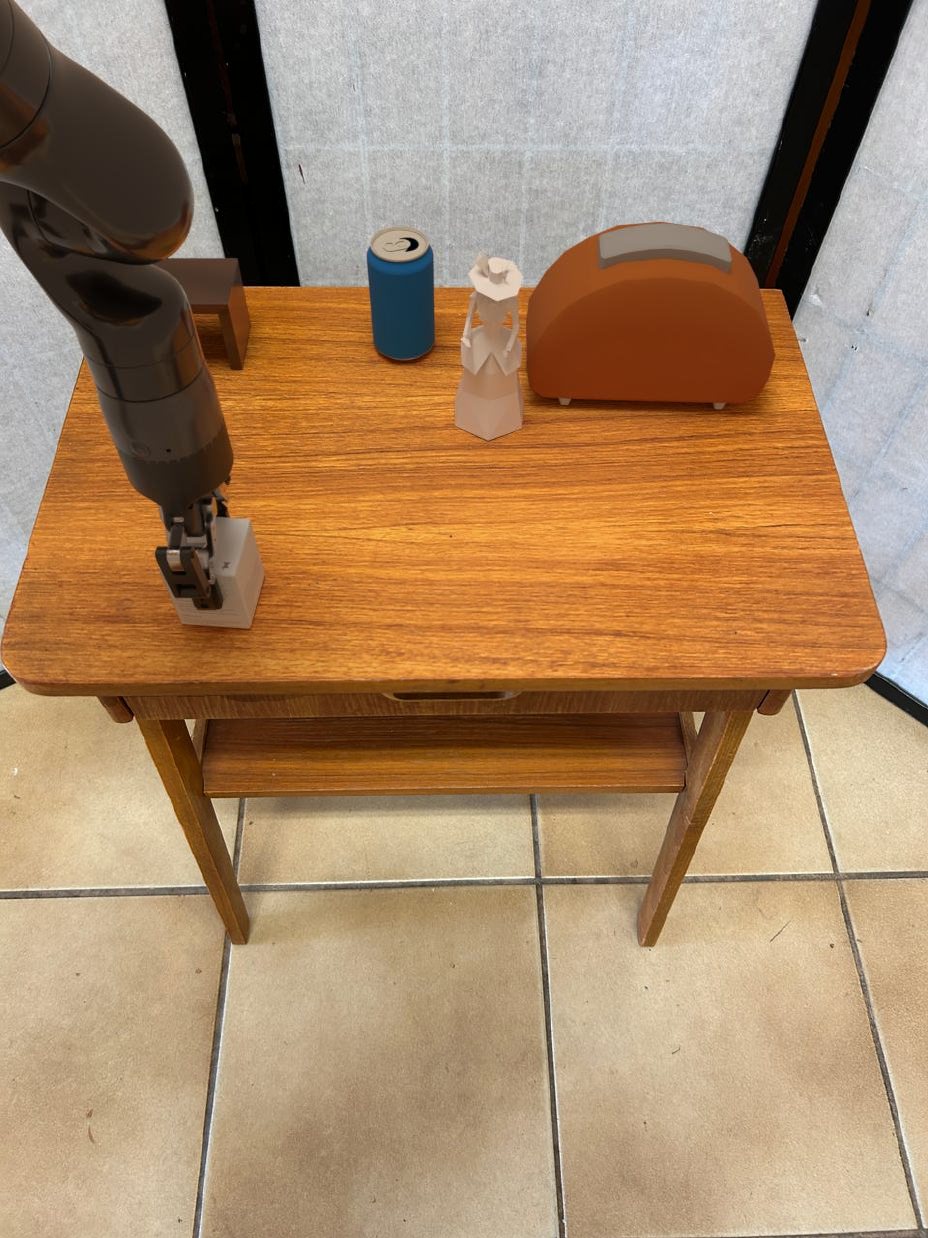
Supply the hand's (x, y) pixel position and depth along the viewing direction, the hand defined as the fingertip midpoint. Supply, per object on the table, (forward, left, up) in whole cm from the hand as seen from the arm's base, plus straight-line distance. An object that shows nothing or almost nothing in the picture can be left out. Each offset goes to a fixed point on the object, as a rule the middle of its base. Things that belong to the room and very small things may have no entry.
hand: (216, 571), depth 78 cm
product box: (0, 0, -4) cm, 4 cm away
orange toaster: (+44, -17, -4) cm, 47 cm away
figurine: (+32, -7, -4) cm, 33 cm away
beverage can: (+36, +6, -4) cm, 37 cm away
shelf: (+24, +24, -4) cm, 34 cm away
